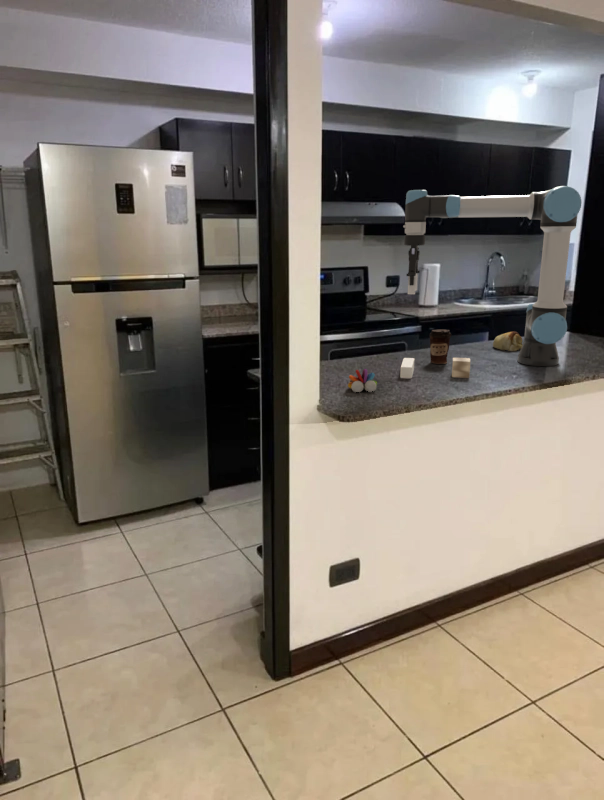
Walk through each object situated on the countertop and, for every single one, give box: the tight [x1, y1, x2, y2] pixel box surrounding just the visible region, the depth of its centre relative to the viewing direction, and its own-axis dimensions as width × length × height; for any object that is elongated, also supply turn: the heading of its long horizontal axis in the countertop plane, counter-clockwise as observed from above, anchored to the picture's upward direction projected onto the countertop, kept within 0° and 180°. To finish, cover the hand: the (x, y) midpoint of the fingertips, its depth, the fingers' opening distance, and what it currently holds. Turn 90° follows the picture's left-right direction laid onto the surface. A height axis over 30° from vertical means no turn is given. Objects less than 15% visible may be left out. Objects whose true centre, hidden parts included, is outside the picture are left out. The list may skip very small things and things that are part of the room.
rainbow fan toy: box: [347, 368, 378, 393], centre depth 196 cm, size 8×10×7 cm
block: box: [451, 357, 471, 379], centre depth 214 cm, size 6×6×6 cm
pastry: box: [492, 330, 523, 352], centre depth 261 cm, size 14×12×8 cm
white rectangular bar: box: [399, 357, 416, 379], centre depth 219 cm, size 4×16×4 cm, turn 167°
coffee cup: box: [429, 328, 452, 365], centre depth 233 cm, size 9×8×13 cm
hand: (412, 292), depth 225 cm, fingers open, 13 cm apart
